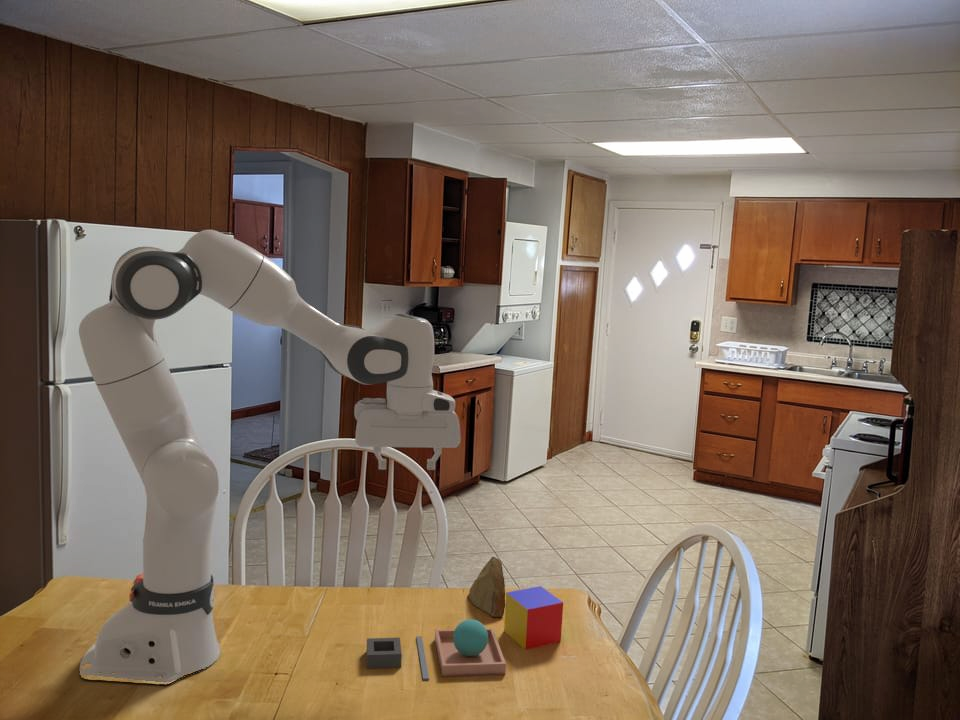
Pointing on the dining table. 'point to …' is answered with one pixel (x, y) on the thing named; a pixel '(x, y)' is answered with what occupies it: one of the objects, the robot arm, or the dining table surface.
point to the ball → (470, 637)
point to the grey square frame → (383, 652)
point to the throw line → (422, 658)
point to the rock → (489, 589)
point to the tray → (463, 665)
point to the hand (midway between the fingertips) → (406, 468)
